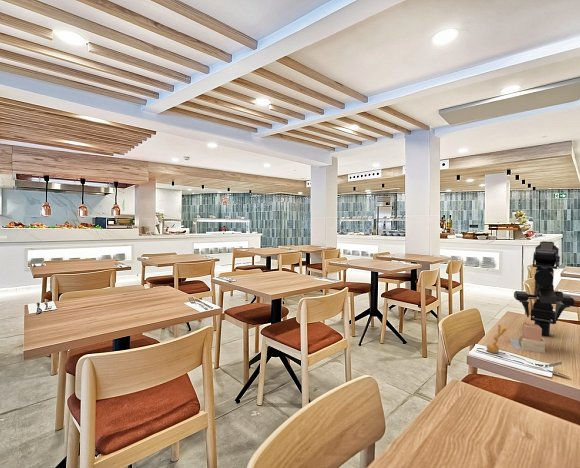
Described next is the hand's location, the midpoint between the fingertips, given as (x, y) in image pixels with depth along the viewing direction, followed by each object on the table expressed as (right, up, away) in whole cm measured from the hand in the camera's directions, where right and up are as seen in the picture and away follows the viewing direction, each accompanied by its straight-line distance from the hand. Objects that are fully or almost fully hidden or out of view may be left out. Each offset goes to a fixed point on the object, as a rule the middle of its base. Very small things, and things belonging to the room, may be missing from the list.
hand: (541, 318), depth 129 cm
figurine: (-23, -12, -6) cm, 26 cm away
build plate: (-5, -12, +2) cm, 13 cm away
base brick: (-5, -12, -1) cm, 12 cm away
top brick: (-5, -8, -1) cm, 9 cm away
